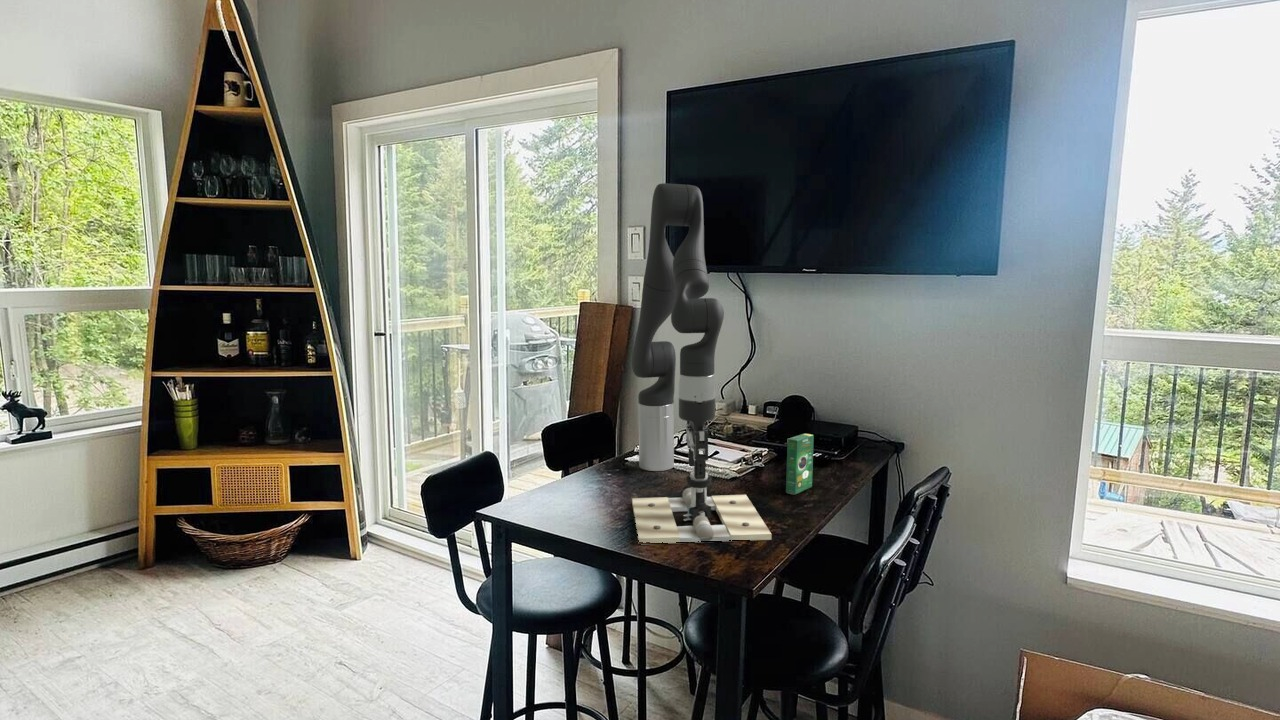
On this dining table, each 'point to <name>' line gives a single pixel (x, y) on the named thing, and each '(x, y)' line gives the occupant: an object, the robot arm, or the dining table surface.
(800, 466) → the coffee box
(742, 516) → the hinge plate
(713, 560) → the dining table surface
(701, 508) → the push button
